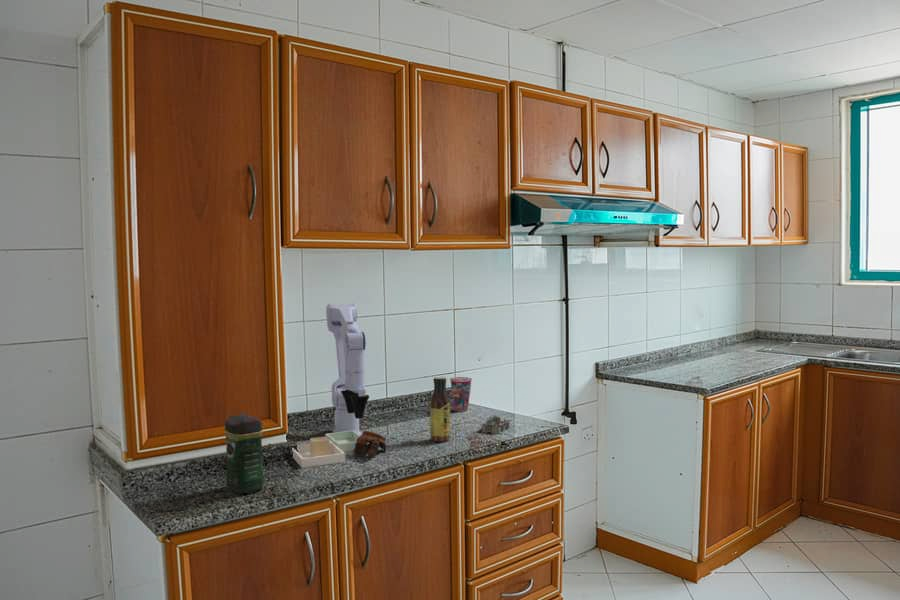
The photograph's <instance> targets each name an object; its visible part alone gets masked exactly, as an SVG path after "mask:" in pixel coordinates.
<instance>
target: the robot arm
mask: <svg viewBox="0 0 900 600" xmlns="http://www.w3.org/2000/svg"><path fill="white" fill-rule="evenodd" d="M325 309H326V310H325V311H326V313H325V314H326V315H325V316H326V325H327V330H328V331H329V332H331V333H332V334H333V336H334V339H335V349H336V350H335V351H336V359H337V360H336V361H337V369H338V378H337V379H336V380H335V381H333V383H332V385H331V403H332V406H333V407H334V408H336V409H335V410H334V429H332V433H336V432H344V431H353V430H354V431H355V432H357V433H358V434H359V435H362V434H363V431H362V432H361V430H360V419H363V418H364V414H365V409H366V406H367V403H368V400H369V398H370V395H369V394H366V386H365V359H364V358H365V354H364V352H365V351H366V347H367V346H366V345H367V340H366V339H367V338H366V334H365V332H364V331H361V330H360V327H359V325H358V323H357V320H358V308H357V305H356V303H337V304H336V303H335V304H334V303H333V304H331V303H328V304H327V305H326V308H325Z"/></svg>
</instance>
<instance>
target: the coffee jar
mask: <svg viewBox="0 0 900 600" xmlns="http://www.w3.org/2000/svg"><path fill="white" fill-rule="evenodd" d="M224 424H225V426H224V433H225V443H226V444H225V445H226V448H225V449H226V462H225V463H226V464H225V465H226V470H225V471H226V473H225V474H226V475H225V477H226V478H225V479H226V483H225V485H226V488H227V489H228V490H229V491H231V492H233V493H235V494H239V495H240V494H253V493H256V492H258V491H260V490H261V489H263V487H264V470H263V450H262V449H263V447H262V443H263V442H262V438H263V424H262V420H260V419H258V418H256V417H253V416H250V415H247V414H245V413H242V414H241V413H239V414H235V415H229V417H228V418H226V420H225V423H224Z"/></svg>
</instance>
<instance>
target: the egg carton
mask: <svg viewBox="0 0 900 600" xmlns="http://www.w3.org/2000/svg"><path fill="white" fill-rule="evenodd" d="M511 421H512V419H506V418H504V419H503V420H501V417H500V416H496V414H492V415H491V416H489V419H486V421H484V422H482V423H481V424H480V426H481V432H482V433H488V432H487V431H491V432H490V433H491V434H493V433H495V434H500V433H499V432H502V431H501V430H505V431H506V429H505V428H510V429H511V423H510V422H511ZM496 432H497V433H496Z"/></svg>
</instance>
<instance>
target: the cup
mask: <svg viewBox="0 0 900 600" xmlns="http://www.w3.org/2000/svg"><path fill="white" fill-rule="evenodd" d="M472 380H473V379H472V378H471V377H465V376H458V377H451V378H449V381H450V387H451V388H450V389H451V395H452V402H453V403H452V404H453V408H454V409H453V410H454V412H458V413H461V412H463V413H465V412H467V411H468V410H469V406H470V405H469V404H470V395H471V386H472Z"/></svg>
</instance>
